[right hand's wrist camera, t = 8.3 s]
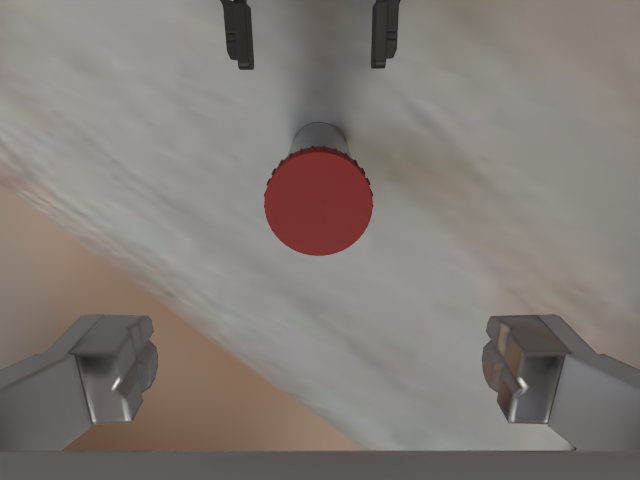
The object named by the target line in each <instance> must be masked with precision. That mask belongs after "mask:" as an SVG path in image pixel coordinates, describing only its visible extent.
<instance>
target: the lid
mask: <svg viewBox="0 0 640 480" xmlns="http://www.w3.org/2000/svg"><path fill="white" fill-rule="evenodd" d="M272 175H273V176H272V178H271V179H270V178H269V180H268V182H267V185H268V187H267V190H266V192H265V194H264V196H265V205H264V208H265V213H266V218H267V220H268V223H269V225H270V227H271V229H272V231H273V232H274V234H275V235H276V236H277V237H278V238H279V240H280V241H282V242H283V243H284V244H285V245H287V246H288V247H290V248H291V249H293V250H295V251H297V252H300V253H303V254H307V255H315V256H324V255H330V254H334V253H337V252H340V251H342V250H344V249H346V248H348V247H349V246H351V245H352V244H353V243H355V242H356V241H357V240H358V239H359V238H360V236H361V235H362V234H363V233H364V231H365V229H366V228H367V226H368V223H369V221H370V218H371V214H372V207H373V200H372V196H373V193H372V191H371V189H370V186H369V185H370V182H369V180H368V178H366V177H365V172H364V170H363V168H360V167H359V166H358V164H357V161H356V160H353V159H352V158H350V157H349V156H348V154H347V153H346V152H345V154H344V153H342V152H341V151H338V150H337V148H335V149H332V148H328V147H325V145H323V147H314V145H312V146H311V147H310V148H305V149H302V148H300V150H299V151H297V152H295V153H293V154H292V153H290V154H289V156H288V157H287V158H286V159H285V160H281V161H280V164H279V166H278V167H277V169H274V170H273V172H272Z"/></svg>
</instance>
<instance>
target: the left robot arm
mask: <svg viewBox="0 0 640 480" xmlns="http://www.w3.org/2000/svg"><path fill="white" fill-rule="evenodd" d="M246 1H247V0H221V2H222V4H223V8H224V20H225V32H226V44H227V52H228V54H229V56H230V58H231V59H232V60H238V66H239V69H240V70H253V69H254V55H253V39H252V23H251V8H250V7H249V6H248V5H247V3H246ZM399 3H400V0H376V3H375V4H374V6H373V12H372V48H371V68H372V69H380V68H385V64H386V59H390V58H393V57H394V54H395V52H396V49H397V31H398V10H399Z"/></svg>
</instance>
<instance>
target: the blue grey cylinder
mask: <svg viewBox="0 0 640 480" xmlns="http://www.w3.org/2000/svg"><path fill="white" fill-rule="evenodd" d="M312 145H314V147H323V145H325V147H328V148H332V149H335V148H337V150H338V151H341V152H342V153H344V154H345V152H346V153H347V154H348V156H349V157H350V158H352V157H351V155H350V152H349V149H348V146H347V144H346V141H345V139H344V137H343V135H342V134H341V132H340V131H339V130H338V129H337V128H335V127H334V126H332V125H330V124H328V123H323V122H316V123H311V124H309V125H306V126H305V127H303V128H302V129H301V130H300V131H299V132H298V133H297V135H296V136H295V138H294V140H293V143H292V145H291V148H290V150H289V153H288V155H287V157H288V156H289V154H290V153H292V154H293V153H295V152H297V151H299V150H300V148H302V149H305V148H310V147H311V146H312Z"/></svg>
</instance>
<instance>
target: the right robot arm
mask: <svg viewBox="0 0 640 480" xmlns="http://www.w3.org/2000/svg"><path fill="white" fill-rule="evenodd" d="M153 332H154V330H153V325H152V320H151V319H150V317H149V316H147V315H104V314H98V315H82V316H80V317H79V318H78V319H77V320H76V321H75V322H74V323H73V324H72V325H71V326H70V327H69V328H68V329H67V330H66V331H65V332H64V333H63V334H62V335H61V336H60V337H59V338H58V339H57V340H56V341H55V342H54V344H52V345H51V346H50V347H49V348H48V350H46V351H45V353H43V354H35V355H33V356H30V357H28V358H26V359H24V360H21V361H19V362H17V363H15V364H12V365H10V366H8V367H6V368H4V369H1V370H0V480H640V370H639V369H636V368H634V367H632V366H630V365H627V364H625V363H623V362H621V361H619V360H616V359H614V358H612V357H610V356H607V355H605V354H597V353H596V352H595V351H594V350H593V349H592V348H591V347H590V346H589V345H588V344H587V343H586V342H585V341H584V340H583V339H582V338H581V337H580V336H579V335H578V334H577V333H576V332H575V331H574V330H573V329H572V328H571V327H570V326H569V325H568V324H567V323H566V322H565V321H564V320H563V319H562V318H561V317H560V316H558V315H555V314H547V315H514V316H491V317H490V319H489V321H488V324H487V329H486V332H487V334H488V335H489V337H490V339H491V340H490V341H489V342H488V343H487V344H486V345H485V346H484V347H483V355H482V366H483V373H484V376H485V380H486V382H487V383H488V385H489V387H490V388H491V389H493V390H494V391H496V392H497V393H498V397H497V402H498V404H499V406H500V408H501V410H502V411H503V413H504V415H505V417H506V419H507V421H508V422H509V423H526V424H548V426H549V427H550V428H551V429H553V430H554V431H555V432H556V433H558V434H559V435H560V436H561V437H563V438H564V439H565V440H567V441H568V442H569V443H570V444H572V445H573V446H574V447H575V448H577V449H576V450H575V451H61V450H62V449H63V448H65V447H66V446H67V445H69V444H70V443H71V442H72V441H74V440H75V439H76V438H77V437H79V436H80V435H81V434H83V433H84V432H85V431H86V430H88V429H89V428H90V427H91V426H92V424H113V423H132V421H133V419H134V417H135V415H136V413H137V411H138V410H139V408H140V406H141V404H142V402H143V397H142V393H143V392H144V391H146V390H147V389H149V388H150V387H151V385H152V383H153V381H154V379H155V376H156V372H157V367H158V354H157V348H156V347H155V345H154V344H153V343H152V342H151V341H150V340H149V339H150V337H151V335H152V334H153Z"/></svg>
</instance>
